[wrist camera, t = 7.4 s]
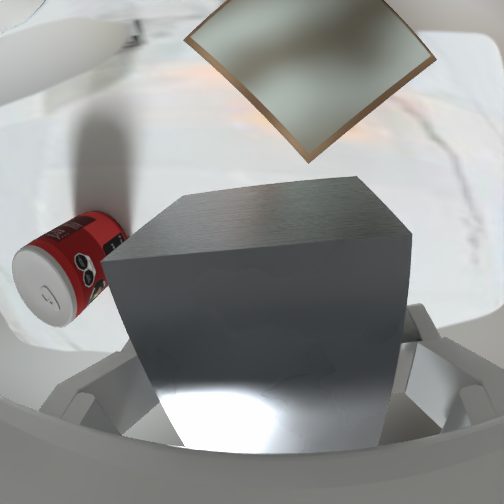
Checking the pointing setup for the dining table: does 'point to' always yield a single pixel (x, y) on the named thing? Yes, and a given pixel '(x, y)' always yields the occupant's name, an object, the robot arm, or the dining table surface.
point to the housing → (269, 314)
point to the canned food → (66, 267)
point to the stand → (311, 61)
